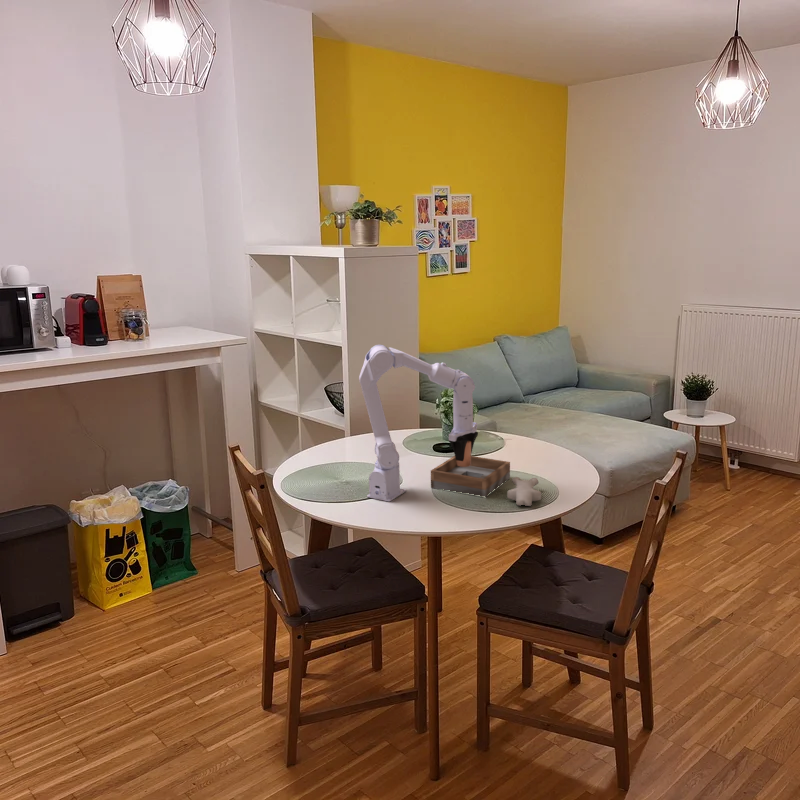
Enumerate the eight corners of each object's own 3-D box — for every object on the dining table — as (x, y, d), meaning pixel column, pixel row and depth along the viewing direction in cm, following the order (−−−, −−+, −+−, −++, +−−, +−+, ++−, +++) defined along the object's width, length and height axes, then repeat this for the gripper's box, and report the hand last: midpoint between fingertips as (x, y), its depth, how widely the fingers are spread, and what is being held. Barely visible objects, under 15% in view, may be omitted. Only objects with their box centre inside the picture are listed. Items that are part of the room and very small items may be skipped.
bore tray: (485, 498, 211) (485, 480, 210) (430, 487, 220) (430, 470, 219) (509, 478, 226) (510, 461, 225) (457, 470, 235) (457, 453, 234)
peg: (467, 467, 215) (466, 444, 213) (453, 465, 217) (453, 442, 215) (473, 463, 218) (473, 440, 217) (460, 461, 221) (460, 438, 219)
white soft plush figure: (506, 494, 203) (509, 470, 217) (506, 511, 205) (509, 486, 218) (541, 496, 201) (541, 472, 215) (540, 512, 203) (541, 487, 217)
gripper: (464, 421, 206) (464, 467, 209) (486, 409, 218) (486, 452, 221) (442, 418, 210) (442, 463, 213) (464, 407, 221) (465, 449, 225)
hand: (463, 458), depth 217 cm, fingers closed on peg, 4 cm apart
